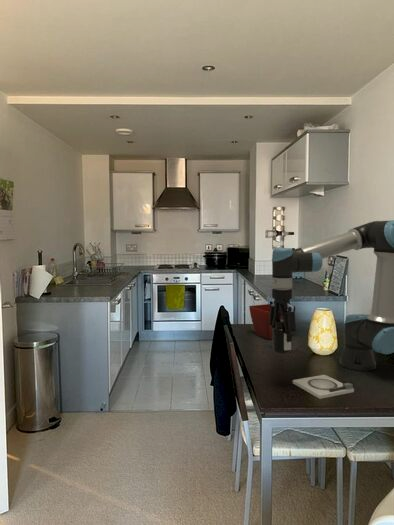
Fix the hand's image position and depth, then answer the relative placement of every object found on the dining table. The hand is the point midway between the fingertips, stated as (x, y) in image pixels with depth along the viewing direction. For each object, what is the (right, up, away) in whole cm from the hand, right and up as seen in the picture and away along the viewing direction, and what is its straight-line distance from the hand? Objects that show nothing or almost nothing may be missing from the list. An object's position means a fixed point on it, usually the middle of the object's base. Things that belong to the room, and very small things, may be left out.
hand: (281, 346), depth 153 cm
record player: (+16, -15, -1) cm, 22 cm away
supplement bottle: (0, -2, 0) cm, 2 cm away
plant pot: (+10, -10, +74) cm, 75 cm away
